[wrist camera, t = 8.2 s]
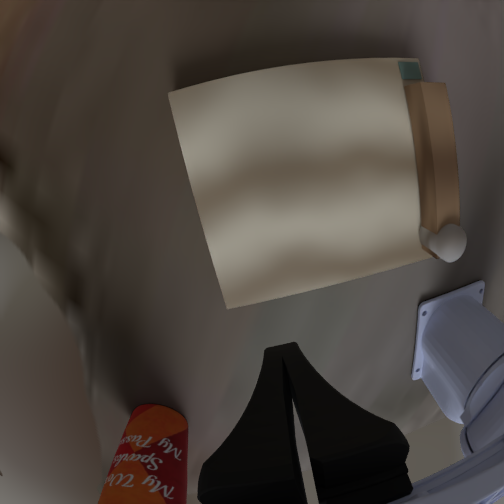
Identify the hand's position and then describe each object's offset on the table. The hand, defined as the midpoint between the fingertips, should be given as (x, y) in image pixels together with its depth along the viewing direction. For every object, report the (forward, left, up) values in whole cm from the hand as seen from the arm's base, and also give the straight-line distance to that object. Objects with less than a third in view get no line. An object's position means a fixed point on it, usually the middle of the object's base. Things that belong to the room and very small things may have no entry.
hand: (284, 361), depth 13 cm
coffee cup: (-14, +14, -10) cm, 22 cm away
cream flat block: (+6, -5, -9) cm, 12 cm away
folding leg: (+5, -12, -7) cm, 15 cm away
